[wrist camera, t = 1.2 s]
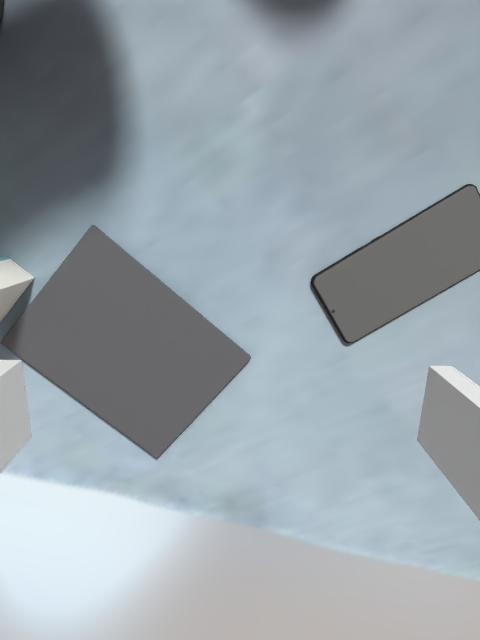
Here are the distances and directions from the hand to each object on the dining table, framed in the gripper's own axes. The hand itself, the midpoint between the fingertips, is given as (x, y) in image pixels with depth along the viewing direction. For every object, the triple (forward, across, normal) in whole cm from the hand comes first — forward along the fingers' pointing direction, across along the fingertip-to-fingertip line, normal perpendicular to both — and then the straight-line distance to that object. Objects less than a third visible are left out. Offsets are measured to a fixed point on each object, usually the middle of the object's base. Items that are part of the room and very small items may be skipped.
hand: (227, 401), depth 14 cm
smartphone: (+23, +15, +1) cm, 27 cm away
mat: (+22, -9, -6) cm, 25 cm away
